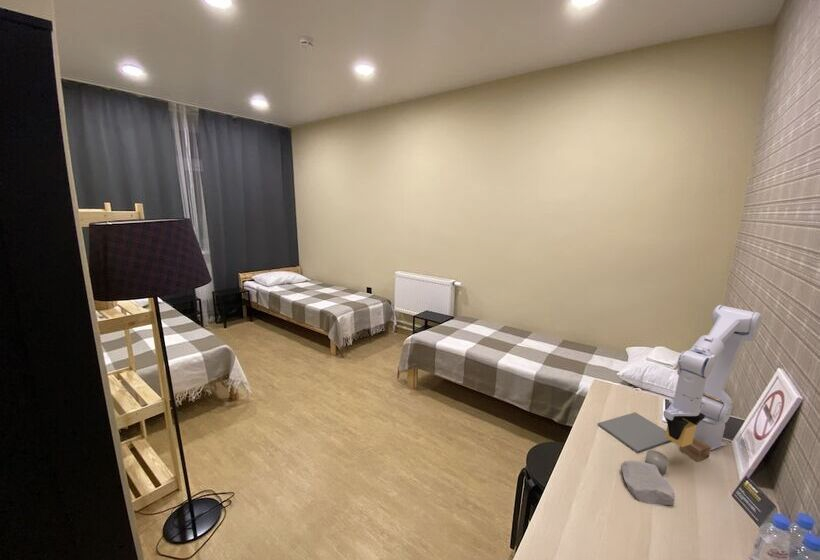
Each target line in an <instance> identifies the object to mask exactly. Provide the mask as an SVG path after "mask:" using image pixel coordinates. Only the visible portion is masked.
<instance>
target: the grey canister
mask: <svg viewBox="0 0 820 560" xmlns="http://www.w3.org/2000/svg"><path fill="white" fill-rule="evenodd" d="M644 462H645V463H649V464H653V465H656V466H657V468H658V470H659V473H660V474H661V476H664V475H666V473H667V469H668V464H669V459H668V457H667V456H666V455H665V454H664V453H662V452H660V451H658V450H651V449H648V450H646V454H645V460H644Z"/></svg>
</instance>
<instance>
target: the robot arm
mask: <svg viewBox="0 0 820 560" xmlns="http://www.w3.org/2000/svg"><path fill="white" fill-rule="evenodd" d="M762 320H763V317H762V314H761V313H760V312H758V311H757V312H755V311H752V310H751V311H749V310H746V309H739V308H736V307H731V306H726V305H723V304H718V305H717V306H716V307H715V308H714V309H713V311H712V315H711V322H712V325H713V326H712V327H711V329H710V331H709V332H708V334H703V335H701V336H699V338H698V339H697V340H696V341H695V342H694V344H693V345H692V346H691V347H690V349H688V350H687V349H686V350H682V351H681V353H680V354H679V356H678V359H677V362H676V365H677V371H676V372H677V373H676V374H677V376H678V378H677V383H676V387H675V391H674V397H673V398H672V399H669V400H668V403H669V404H670V405H669V407H668V408H667V409H664V411H663V417H664V418H665V421H666V423H667V425H668V430H669V436H671V437H672V438H674V439H676V440H678V439H679V437H680V435H681V433H682V430H683V429H684V427H685V426H686V425H687V424H688V423H689V422H687V421H685V420H684V419H686V420H688V421H690V422H691V423H693V424H695V425H696V429H695V434H694V437H695V438H697V439H699V440H700V441H702V442H704V443H705V444H707V445H709V446H711V450H710V452H711V451H712V450H715V449H718V448H721V447H723V446H725V442H723V441H722V440H723V436H724V433H725V429H726V423H727V422H728V420H729V419H730V417H731V415H732V411H733V406H734V401H733V399H732V398H731V396H730V395H728V393H727V392H726V388H727V385H728V383H729V381H730V378H731V374H732V372H733V370H734V368H735V364H736V362H737V360H738V357H739V354H740V353H741V351H742V347H743V345H744V344H745V343H746V342H750V341H754V340H755V338H757V335H758V332H759V330H760V328H761V325H762ZM717 399H718V400H717ZM683 418H684V419H683Z"/></svg>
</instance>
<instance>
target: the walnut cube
mask: <svg viewBox="0 0 820 560" xmlns="http://www.w3.org/2000/svg"><path fill="white" fill-rule="evenodd" d="M678 449H679V450H678V451H679V452H681V453H682V454H684V455H686V456H687V457H688V458H690V459H692V460H693V461H695V462H697V463H698V462H701V461H704V460H707V459H709V457H710V453H711V451H712V450H711V446H709V445H707V444H705V443H704V442H702V441H700V440H699V439H697V438H695V437H694V438H693V442H692V444H690V445H687V446H684V447H680V446H679V448H678ZM710 450H711V451H710Z"/></svg>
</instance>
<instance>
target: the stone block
mask: <svg viewBox="0 0 820 560" xmlns="http://www.w3.org/2000/svg"><path fill="white" fill-rule="evenodd" d="M620 468H621V472H622V475H623V479H624V482H625V483H626V486H627V490H628V492H630V493H631V495H632V496H633V497H634V498H635V499H636V500H637V501H639V502H642V503H646V504H648V505H662V506H673V505H674V504H675V498H676V495H675V491H674V489H673V487H672V485H670V483H669V482H668V481H667V480H666V479H665V478H664V477H663V475H661V474H660V473H659V470H658V468H657V466H656V465H653V464H649V463H645V461H644V462H643V461H639V460H638V461H637V460H624V461H623V462H621V464H620Z"/></svg>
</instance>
